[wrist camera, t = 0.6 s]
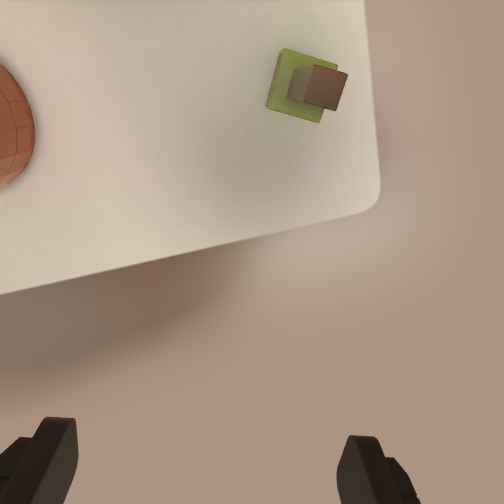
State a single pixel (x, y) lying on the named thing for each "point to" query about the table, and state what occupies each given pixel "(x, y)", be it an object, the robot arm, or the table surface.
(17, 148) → the bowl
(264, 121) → the table surface
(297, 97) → the green-headed mallet
